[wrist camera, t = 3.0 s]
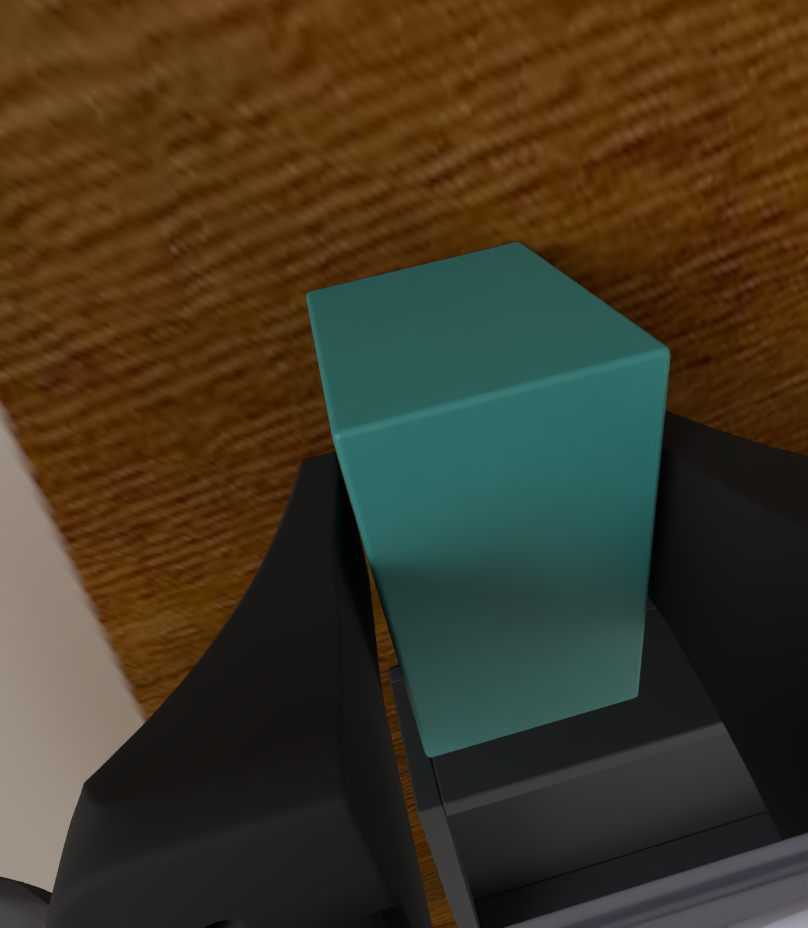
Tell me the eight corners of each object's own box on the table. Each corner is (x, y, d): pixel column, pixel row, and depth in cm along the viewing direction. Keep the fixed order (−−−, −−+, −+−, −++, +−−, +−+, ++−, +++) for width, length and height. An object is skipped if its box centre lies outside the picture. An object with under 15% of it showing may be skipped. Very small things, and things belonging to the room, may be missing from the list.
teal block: (381, 566, 15) (427, 761, 11) (304, 291, 11) (331, 435, 7) (536, 524, 15) (639, 698, 11) (519, 239, 11) (675, 347, 7)
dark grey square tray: (459, 896, 27) (486, 1012, 24) (387, 668, 17) (417, 813, 14) (813, 788, 28) (886, 884, 25) (942, 511, 18) (1094, 612, 15)
